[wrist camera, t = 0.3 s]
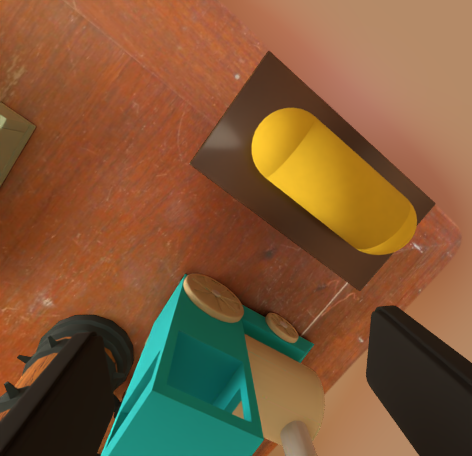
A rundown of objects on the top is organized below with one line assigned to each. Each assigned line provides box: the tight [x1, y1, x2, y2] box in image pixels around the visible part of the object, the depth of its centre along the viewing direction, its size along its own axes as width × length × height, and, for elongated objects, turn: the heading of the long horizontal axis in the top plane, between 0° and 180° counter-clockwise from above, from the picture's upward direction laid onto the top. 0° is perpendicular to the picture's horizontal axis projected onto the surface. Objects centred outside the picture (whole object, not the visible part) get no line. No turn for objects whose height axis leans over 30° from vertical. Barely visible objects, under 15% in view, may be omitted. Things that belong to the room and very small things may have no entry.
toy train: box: [101, 273, 325, 456], centre depth 21 cm, size 8×17×15 cm, turn 57°
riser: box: [190, 51, 435, 291], centre depth 21 cm, size 15×8×9 cm, turn 53°
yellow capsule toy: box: [252, 108, 417, 255], centre depth 15 cm, size 11×4×4 cm, turn 53°
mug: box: [0, 315, 134, 456], centre depth 22 cm, size 13×10×12 cm
